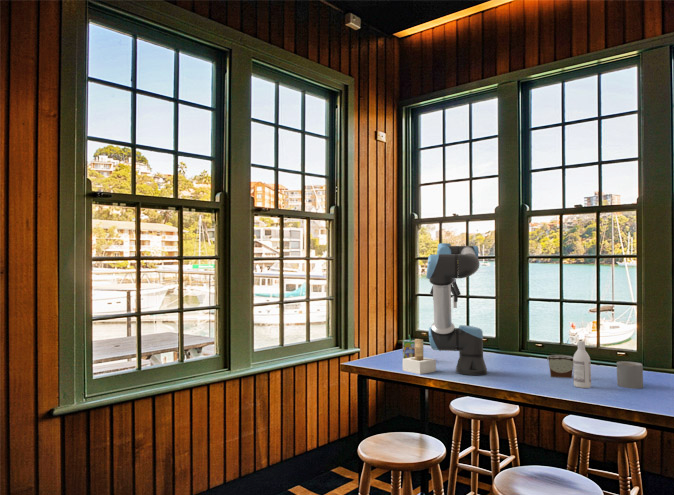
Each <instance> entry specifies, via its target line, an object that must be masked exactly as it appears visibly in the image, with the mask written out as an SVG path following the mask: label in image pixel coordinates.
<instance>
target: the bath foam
mask: <svg viewBox="0 0 674 495" xmlns="http://www.w3.org/2000/svg"><path fill="white" fill-rule="evenodd" d="M572 357H573V372H572V379H573V386H574V387H576V388H578V389H590V388H592V369H591V368H592V367H591V366H592V365H591V357H590V355H589V353H588V352H587V351H586V342H585V341H584V340H578V341H577V350H576V351H575V352H574V354H573V356H572Z"/></svg>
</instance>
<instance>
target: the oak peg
mask: <svg viewBox="0 0 674 495" xmlns="http://www.w3.org/2000/svg"><path fill="white" fill-rule="evenodd" d="M414 340H415V360H417V361H422V360H423V357H424V339H422V338H415V339H414Z"/></svg>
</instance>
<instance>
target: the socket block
mask: <svg viewBox="0 0 674 495" xmlns="http://www.w3.org/2000/svg"><path fill="white" fill-rule="evenodd" d="M402 371H403V372H408V373H413V374H416V375H423V374H428V373H434V372H437V360H436V358H429V357H425V356H423V360H422V361H417V360H415V357H411V358H404V359H403V358H402Z"/></svg>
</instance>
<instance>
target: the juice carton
mask: <svg viewBox="0 0 674 495" xmlns="http://www.w3.org/2000/svg"><path fill="white" fill-rule="evenodd" d="M411 357H415V339H412V338H411V335H410V334H408V339H402V360H403V359H404V358H411Z"/></svg>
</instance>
